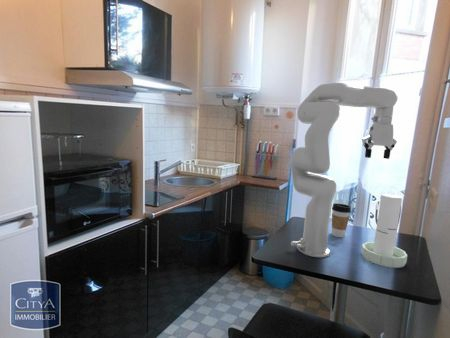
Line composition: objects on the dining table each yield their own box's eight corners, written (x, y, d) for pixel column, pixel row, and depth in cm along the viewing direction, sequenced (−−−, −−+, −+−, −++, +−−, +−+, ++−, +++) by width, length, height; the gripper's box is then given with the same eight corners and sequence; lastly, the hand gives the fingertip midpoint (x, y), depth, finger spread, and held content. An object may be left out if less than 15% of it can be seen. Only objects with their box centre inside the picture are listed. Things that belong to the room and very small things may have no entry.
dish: (378, 268, 112) (380, 258, 111) (353, 250, 127) (354, 242, 126) (414, 267, 115) (416, 257, 114) (386, 250, 130) (387, 241, 129)
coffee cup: (325, 232, 148) (328, 202, 146) (339, 231, 150) (343, 202, 148) (336, 238, 140) (340, 207, 138) (351, 237, 143) (355, 207, 140)
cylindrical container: (395, 261, 116) (405, 198, 113) (375, 259, 118) (384, 196, 114) (389, 254, 123) (398, 194, 120) (370, 251, 125) (378, 192, 121)
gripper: (370, 119, 131) (365, 158, 134) (405, 121, 135) (399, 159, 137) (360, 119, 139) (355, 156, 141) (392, 121, 142) (387, 157, 145)
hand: (377, 158), depth 139 cm, fingers open, 9 cm apart
